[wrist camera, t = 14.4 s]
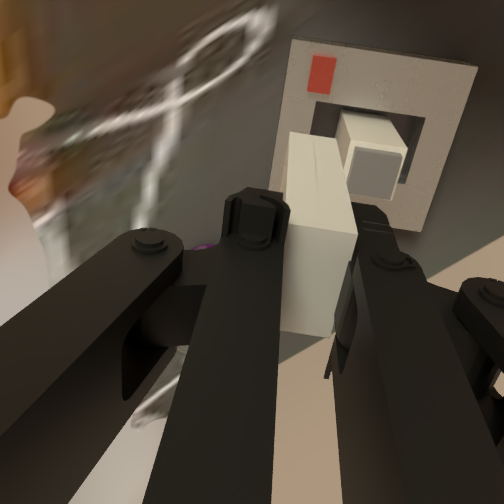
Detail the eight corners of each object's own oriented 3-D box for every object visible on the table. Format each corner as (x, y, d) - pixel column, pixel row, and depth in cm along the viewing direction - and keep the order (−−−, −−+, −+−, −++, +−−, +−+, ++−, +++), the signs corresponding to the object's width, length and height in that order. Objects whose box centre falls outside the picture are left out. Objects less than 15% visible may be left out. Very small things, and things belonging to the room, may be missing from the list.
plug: (341, 109, 46) (351, 143, 36) (387, 116, 46) (410, 152, 36) (331, 154, 48) (339, 197, 39) (375, 160, 48) (393, 205, 39)
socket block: (292, 35, 43) (291, 40, 40) (467, 61, 43) (481, 68, 40) (267, 196, 51) (265, 211, 48) (414, 219, 51) (422, 235, 48)
